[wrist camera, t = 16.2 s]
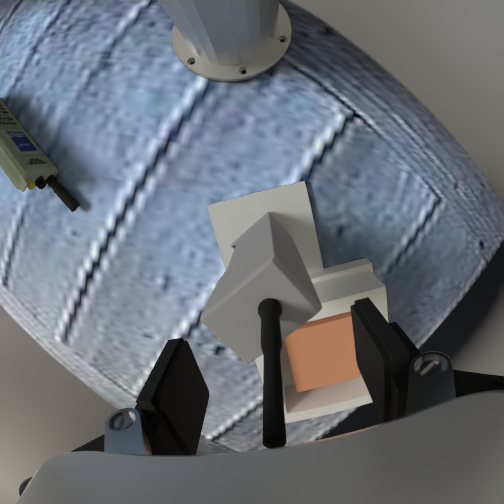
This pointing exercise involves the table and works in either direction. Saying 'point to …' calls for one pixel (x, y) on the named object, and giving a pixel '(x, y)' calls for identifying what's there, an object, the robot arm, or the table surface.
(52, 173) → the handheld radio
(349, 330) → the button
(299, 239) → the light gray square panel
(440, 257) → the table surface
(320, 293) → the frame
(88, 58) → the table surface
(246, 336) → the vintage mobile phone
